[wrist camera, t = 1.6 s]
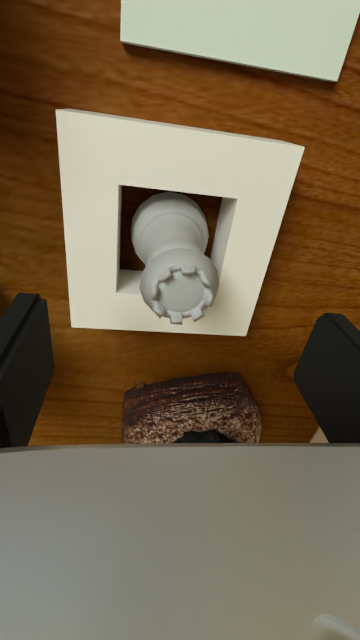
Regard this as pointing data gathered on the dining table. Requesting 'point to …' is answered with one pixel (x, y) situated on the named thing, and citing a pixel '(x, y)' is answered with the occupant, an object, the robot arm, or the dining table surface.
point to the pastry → (191, 411)
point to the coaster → (248, 32)
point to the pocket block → (173, 175)
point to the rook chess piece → (174, 257)
